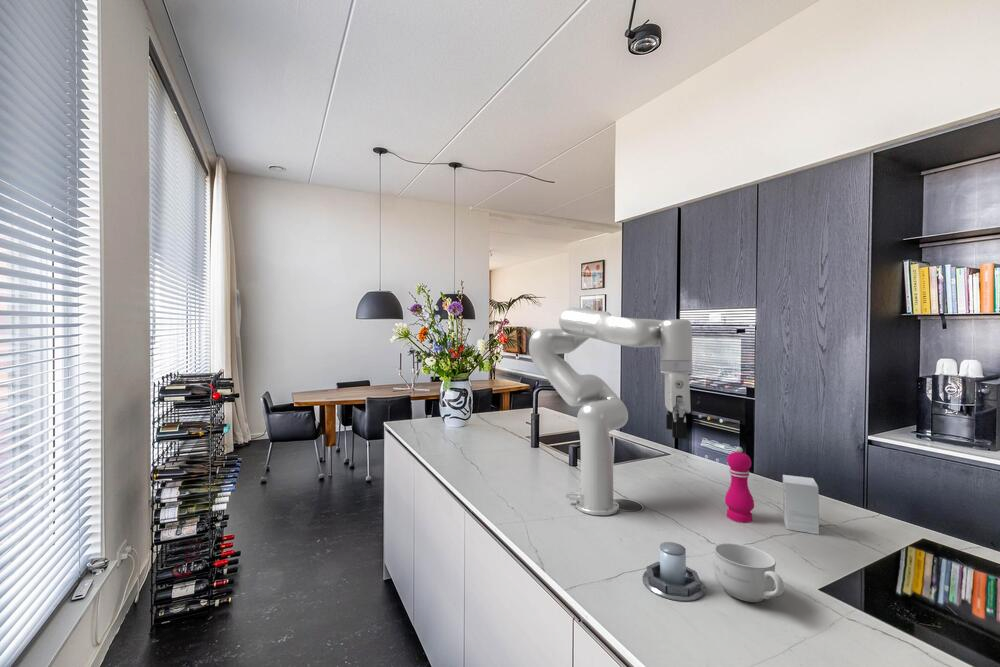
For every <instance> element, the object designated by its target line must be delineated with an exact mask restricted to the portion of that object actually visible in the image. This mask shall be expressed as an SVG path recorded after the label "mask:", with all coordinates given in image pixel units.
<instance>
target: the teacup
mask: <svg viewBox="0 0 1000 667" xmlns="http://www.w3.org/2000/svg"><path fill="white" fill-rule="evenodd" d="M713 550H714V562H713V563H714V564H713V565H714V576H715V579H716V581H717V583H718V585H719V586H720V587H722V589H724V591H725V592H726V593H727V594H728V595H730V596H731V597H734V598H735V599H738V600H741V601H743V602H748V603H758V602H761V601H763V600H769V599H770V598H774V597H778V596H781V595H782V594H783V593H784V591H785V584H784V583H785V582H784V581H783V579H782V577H781V576H780V575H779V574H778V573H777V572H776V566H777V562H776V560H775V558H774V557H773V556H772V555H770V554H769V553H767V552H766V551H764V550H762V549H760V548H757V547H753V546H750V545H747V544H742V543H737V542H721V543H718V544H716V545H714V548H713ZM774 588H775V589H774Z"/></svg>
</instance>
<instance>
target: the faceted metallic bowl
mask: <svg viewBox="0 0 1000 667" xmlns="http://www.w3.org/2000/svg"><path fill="white" fill-rule="evenodd" d="M642 582H643V584H644V586H645V587H646V589H647V590H648V591H650V592H651V593H653V594H655V595H656V596H659V597H661V598H664V599H667V600H670V601H676V602H693V601H697V600H699V599H701V598H703V596H705V593H706V587H705V584H704V582H702V580H701V579H700V576H699V574H698V572H697V571H696V570H694V569H693V568H690V567H688V566H686V586H680V585H671V584H667V583H665V582H663V581H661V580H660V560H659V561H656V562H654V563H652V564H649V565H647V566H646V570H645V571H644V572H643V574H642Z"/></svg>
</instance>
